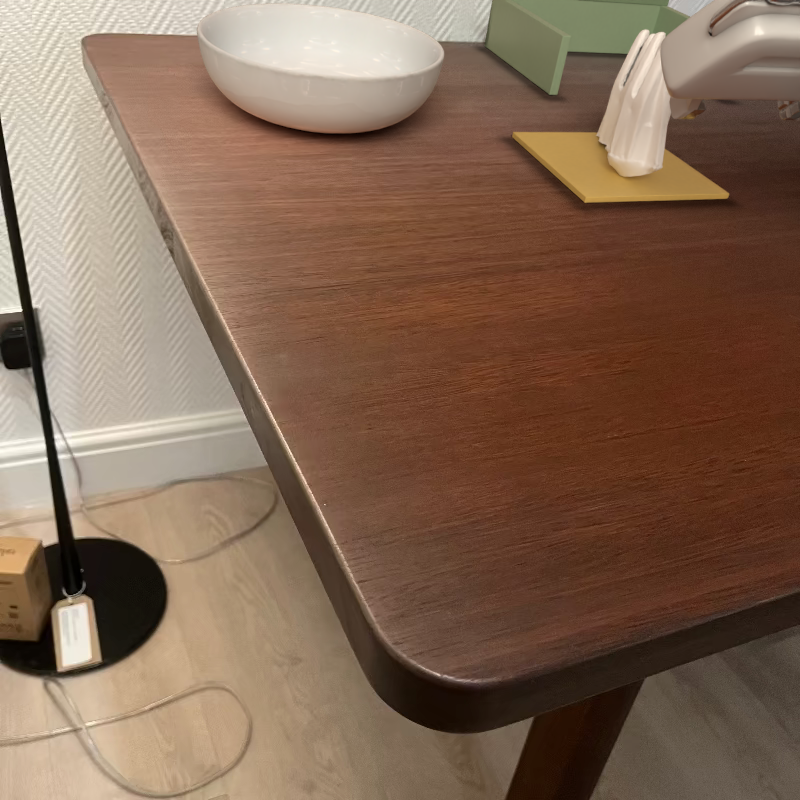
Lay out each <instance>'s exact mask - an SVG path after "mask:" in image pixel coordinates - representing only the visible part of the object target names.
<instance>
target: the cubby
mask: <svg viewBox="0 0 800 800" xmlns="http://www.w3.org/2000/svg"><path fill="white" fill-rule="evenodd" d="M669 3H670V0H491V5H490V10H489V16H488V22H487V23H488V24H487V27H486V28H487V29H486V32H485V33H486V34H485V38H484V43H483V44H484V47H485V48H486V49H488V50H489V51H490V52H492V53H493V54H494V55H496V56H497V57H498V58H500V60H502V61H504V62H505V63H506V64H508V66H510V67H512V68H513V69H514V70H516V71H517V72H518V73H520V75H522V76H524V77H525V78H527V80H529V81H530V82H532V84H534V85H536V86H537V87H538V88H539V89H541V90H543V92H544V93H546V94H547V95H548V96H558V94H559V89H560V85H561V82H562V76H563V73H564V68H565V65H566V61H567V56H568V52H570V53H591V54H592V53H593V54H594V53H597V54H617V55H619V54H621V55H628V52H629V51H630V49H631V46H632V44H633V43H634V41H635V39H636V37H637V36H638V34H639V33H640V32H641V31H642V30H645V29H646V30H649V36H650V34H656V33H658V32H664V33H665V34H666V36H667V35H668V34H669V33H670V32H672V31H673V30H674V29H675V28H677V27H678V26H679V25H681V24H682V23H683V22H684V21H686V20H687V19H688V18H690V17H691V16H690V15H688V14H686V13H683V12H681V11H679V10H677V9H675V8H672V7H670V6H669ZM666 36H665V37H666Z"/></svg>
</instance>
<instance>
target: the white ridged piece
mask: <svg viewBox="0 0 800 800" xmlns="http://www.w3.org/2000/svg"><path fill="white" fill-rule="evenodd" d="M665 36H666V34H665V33H664V32H658V33H656V34H650V36H649V30H646V29H645V30H642V31H641V32H640V33H639V34H638V36H637V37H636V39H635V41H634V43H633V44H632V46H631V49H630V51H629V52H628V54H626V57H625V59H624V61H623V63H622V65H621V67H620V69H619V72H618V73H617V75H616V78H615V80H614V82H613V85H612V88H611V91H610V94H609V97H608V101H607V106H606V110H605V112H604V115H603V116H602V117H603V118H602V119H601V121H600V125H599V128H598V130H597V132H598V133H597V135H596V136H598V137H599V140H598V141H600V142H601V143H602V144H605V145H607V146H606V147H605V149H606V150H607V152H608V154H607V158H608V161H609V164H610V165H611V166H612V167H613V168H614V169H615V170H616V171H617V173H618V174H619V175H621V176H623V177H633V176H641V175H646V174H650V173H653V172H656V171H658V170H660V169H661V168H662V167H663V166H662V164H663V157H664V149H666V140H667V131H668V124H669V121H670V118H671V116H672V115H671V109H670V103H669V101H670V97H671V96H670V95H669V94H668V91H667V88H666V85H665V81H664V77H663V72H662V66H661V56H660V49H661V43H662V41H663V40H664V38H665Z"/></svg>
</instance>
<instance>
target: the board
mask: <svg viewBox="0 0 800 800" xmlns="http://www.w3.org/2000/svg"><path fill="white" fill-rule="evenodd" d="M597 133H598V131H597V132H595V131H591V132H587V131H586V132H584V131H513V132H512V137H511V138H512V139H514V140H515V141H516V142H517V143H518V144H519V145H520V146H521V147H522V148H524V149H525V151H527V152H528V153H529V154H530V155H531V156H533V157H534V158H535V159H536V160H537V161H538V162H539V163H540V164H541V165H542V166H543V167H544V168H546V170H548V171H549V172H550V173H551V174H552V175H553V176H554V177H555V178H557V179H558V180H559V181H560V182H561V184H563V185H564V186H565V187H566V188H567V189H568V190H570V191H571V192H572V193H573V194H574V195H575V196H577V198H579V199H580V200H581V201H582V202H583V203H584V204H587V203H588V204H589V203H627V202H629V203H631V202H662V201H664V202H665V201H698V200H727V199H728V198H729V196H730V193H729V191H727V190H725V189H724V188H722V187H721V186H719V184H716V183H715V182H713V181H712V180H711V179H709V178H708V177H706V176H705V175H704V174H702V173H701V172H699V171H698V170H696V169H695V168H694V167H692V166H690V165H689V164H688V163H686V161H684V160H682V159H681V158H680V157H677V155H675V154H674V153H672V152H670V150H668V149H666V148H665V149H664V157H663V164H662V166H663V167H662V168H661V169H660V170H658V171H656V172H653V173H650V174H646V175H641V176H633V177H623V176H621V175H619V174H618V173H617V171H616V170H615V169H614V168H613V167H612V166H611V165H610V164H609V161H608V158H607V154H608V152H607V150H606V149H605V147H606V146H607V145H605V144H602V143H601V142H600V141H598V140H599V137H598V136H596V135H597Z"/></svg>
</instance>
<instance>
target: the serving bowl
mask: <svg viewBox="0 0 800 800" xmlns="http://www.w3.org/2000/svg"><path fill="white" fill-rule="evenodd" d="M196 37H197V43H198V48H199V51H200V56H201V60H202V62H203V65H204V67H205V70H206V72H207V74H208V76H209V78H210V79H211V81H212V82H213V84H214V85H215V86H216V87H217V89H218V90H219V91H220V92H221V93H222V94H223V96H224V97H226V98H227V99H228V100H229V101H230V103H233V104H234V105H235V106H237V108H240V109H241V110H242V111H245V112H246V113H248V114H250V115H253V116H254V117H256V118H259V119H261V120H264V121H266V122H268V123H271V124H275V125H279V126H283V127H286V128H291V129H293V130H294V129H295V130H301V131H305V132H309V133H315V134H356V133H357V134H359V133H365V132H366V133H367V132H371V131H377V130H381V129H384V128H387V127H391V126H394V125H395V124H398V123H400V122H402V121H404V120H405V119H407V118H409V117H411V116H412V115H413V114H414V113H416V112H417V111H418V110H419V109H420V108H421V107H422V106H423V105H424V104H425V102H426V101H427V100H428V99H429V98H430V96H431V94H433V91H434V89H435V87H436V85H437V83H438V81H439V77H440V75H441V72H442V69H443V68H442V67H443V64H444V60H445V50H444V48H443V46H442V45H441V43H440V42H439V41H438V40H436V39H435V38H434V37H432V36H431V35H430V34H428V33H426V32H424V31H423V30H420V29H418V28H416V27H414V26H411V25H409V24H406V23H403V22H401V21H397V20H395V19H392V18H387V17H385V16H381V15H380V16H379V15H376V14H371V13H367V12H364V11H358V10H353V9H347V8H340V7H333V6H326V5H317V4H307V3H306V4H305V3H289V2H288V3H285V2H284V3H283V2H282V3H281V2H280V3H279V2H277V3H275V2H274V3H272V2H271V3H267V2H266V3H253V4H243V5H235V6H230V7H227V8H221V9H219V10H216V11H214V12H211V13H209V14H207V15H205V16H204V17H203V18H202V19H201V20H199V22H198V23H197V26H196Z"/></svg>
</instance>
